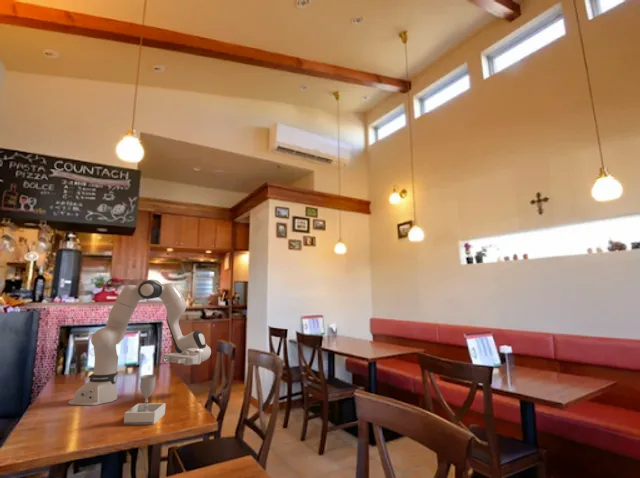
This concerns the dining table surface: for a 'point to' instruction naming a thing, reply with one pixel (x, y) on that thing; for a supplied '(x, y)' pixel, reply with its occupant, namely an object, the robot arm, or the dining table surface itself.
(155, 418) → the walled box
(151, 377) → the chalice
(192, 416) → the dining table surface
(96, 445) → the dining table surface
